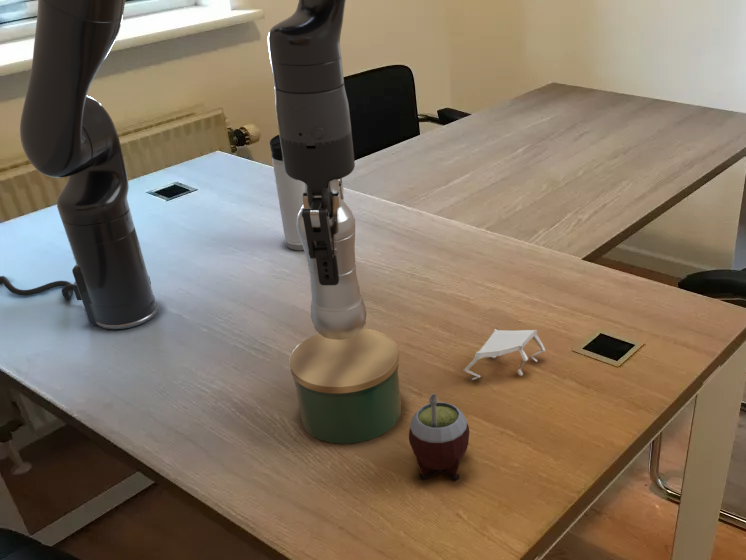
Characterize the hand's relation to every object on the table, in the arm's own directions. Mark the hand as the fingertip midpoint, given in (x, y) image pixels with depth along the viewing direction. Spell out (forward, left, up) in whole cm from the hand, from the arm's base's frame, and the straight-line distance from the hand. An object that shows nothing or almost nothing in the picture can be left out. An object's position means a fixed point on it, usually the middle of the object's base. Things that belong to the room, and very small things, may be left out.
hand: (333, 269), depth 95 cm
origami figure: (+20, +9, -21) cm, 31 cm away
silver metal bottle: (0, 0, -9) cm, 9 cm away
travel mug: (-14, +52, -21) cm, 58 cm away
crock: (0, 0, -21) cm, 21 cm away
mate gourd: (+12, -12, -21) cm, 27 cm away
